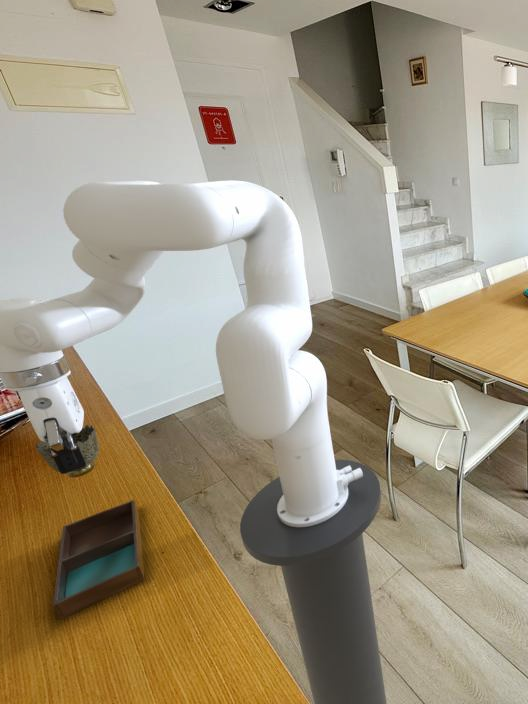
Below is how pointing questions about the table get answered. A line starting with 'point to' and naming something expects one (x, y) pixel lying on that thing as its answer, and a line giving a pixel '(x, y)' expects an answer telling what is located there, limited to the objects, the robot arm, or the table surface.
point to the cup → (82, 440)
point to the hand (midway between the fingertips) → (75, 457)
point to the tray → (98, 558)
